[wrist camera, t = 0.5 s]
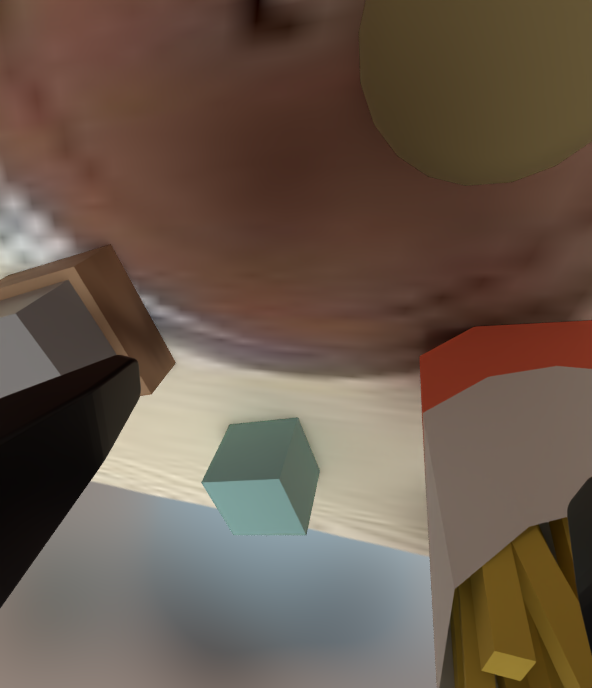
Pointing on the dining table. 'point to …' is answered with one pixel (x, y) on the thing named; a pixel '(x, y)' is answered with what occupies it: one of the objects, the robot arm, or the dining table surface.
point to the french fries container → (507, 502)
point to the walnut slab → (105, 307)
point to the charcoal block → (46, 337)
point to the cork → (479, 84)
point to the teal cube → (264, 478)
